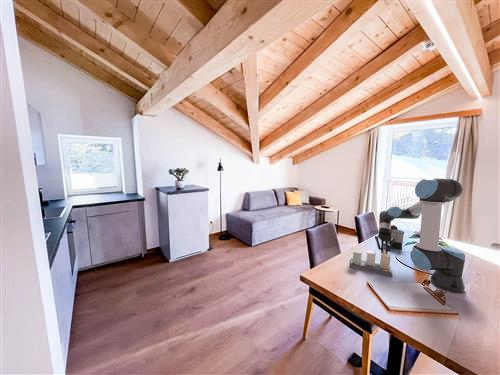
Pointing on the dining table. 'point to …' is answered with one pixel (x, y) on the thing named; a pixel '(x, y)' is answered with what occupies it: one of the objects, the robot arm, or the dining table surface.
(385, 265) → the beige tall block
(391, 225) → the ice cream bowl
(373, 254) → the cream upright block
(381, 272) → the grey tray
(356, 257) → the key sage
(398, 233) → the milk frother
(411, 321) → the dining table surface
